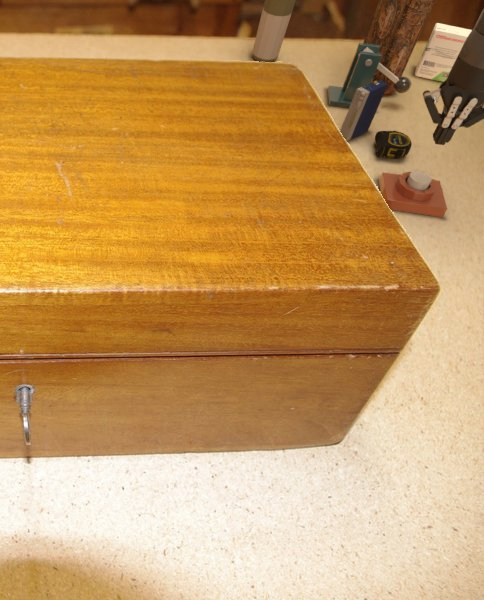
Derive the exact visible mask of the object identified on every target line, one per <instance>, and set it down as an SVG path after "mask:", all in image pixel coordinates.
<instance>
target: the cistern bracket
mask: <svg viewBox="0 0 484 600" xmlns="http://www.w3.org/2000/svg"><path fill="white" fill-rule="evenodd" d="M366 47H368V48H369V49H370V50H372V51H373V52H374V53H371V52H363V50H364V49H365V48H366ZM379 49H380V45H374V44H366V43H363V42H359V43H358V45H357V48H356V50H355V53H354V56H353V58H352V61H351V63H350V65H349V69H348V71H347V73H346V76H345V79H344V81H343V85H342V86H338V85H337V86H336V85H328V87H327V99H328V106H331V107H338V108H346V109H349V107H350V105H351V102H352V99H353V97H354V94H355V92H356V89H358V88H360V87H363V86H365V85H368V84H370V83H371V81H372V79H373V76H374V74H375V72H376V69H377V67H378V64H379V62H380V59H381V57H382V54H379V53H378V51H379ZM359 54H360V55H359ZM358 55H359V56H358Z"/></svg>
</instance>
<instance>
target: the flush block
mask: <svg viewBox="0 0 484 600" xmlns="http://www.w3.org/2000/svg"><path fill="white" fill-rule="evenodd" d="M411 172H412V171H406V172H402V173H401V174H396V173H390V172H383V171H382V173H381V175H380V177H379V179H378V184H379V191H380V195H381V194H382V196H383V198H384V199H385V201H386V203H387V204H388V206H389V208H390V209H389V210H393V211H399V212H406V213H412V214H419V215H425V216H431V217H438V218H443V217H444V215H445V213H446V212H447V210H448V207H447V203H446V198H445V195H444V191H443V187H442V184H441V180H438V179H432V181H431V183H430V185H429V186H428V188H427V189H426V190H418V189H415V188H412V187H410V186H409V185H408V184H407V182H406V181H407V179H408V177H409V175H410V173H411Z"/></svg>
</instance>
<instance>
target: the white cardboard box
mask: <svg viewBox="0 0 484 600" xmlns="http://www.w3.org/2000/svg"><path fill="white" fill-rule="evenodd" d="M472 30H473V29H469V28H465V27H460V26H455V25H450V24H446V23H439V22H436V23H435V24H434V26H433V29H432V31H431V34H430V36H429V38H428V40H427V42H426V44H425V46H424V49H423V52H422V53H421V56H420V58H419V60H418V62H417V65H416V66H415V70H414V76H415V77H418V78H422V79H423V78H424V79H428V80H432V81H438V82H441V83H443V82H444V81H445V80H446V79H447V77H448V75H449V73H450V71H451V69H452V67H453V65H454V63H455V61H456V59H457V57H458V55H459V53H460V51H461V49H462V47H463V45H464V43H465V41H466V39H467V37H468V35H469V34H470V32H471V31H472Z"/></svg>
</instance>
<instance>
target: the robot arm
mask: <svg viewBox="0 0 484 600" xmlns="http://www.w3.org/2000/svg"><path fill="white" fill-rule="evenodd" d="M476 20H477V21H476V23H475V25H474V27H473V28H472V29H471V30H472V31H471V32H470V34H469V35H468V37H467V39H466V41H465V43H464V45H463V47H462V49H461V51H460V53H459V55H458V57H457V59H456V61H455V63H454V65H453V67H452V69H451V71H450V73H449V75H448V77H447V79H446V80H445V81H444V82H441V84H440V85H439V87H438V88H437V89H434V90H429V89H428V90H427V89H425V91H423V92H422V97H423V100H424V104H425V107H426V109H427V111H428V114H429V116H430V119H431V121H432V123H433V124H435V125H436V124H437V126H436V128H435V129H434V130H433V133H432V138H433V142H434V144H435V145H440V146H445V145H446V144H448V143H450V142H451V140H452V138H453V136H454V134H455V133H456V131H457V130H458V129H459V128H463V127H464V128H465V129H467V128H471V127H472V126H474V125H476V124H478V123H479V122H481V121H483V120H484V8H483V9H482V10H481V13H480V14H479V16H478V19H476ZM439 98H441V101H442V103H443V108H442V112H441V113H440V112H439V110H438V107H437V105H436V104H437V103H438V102H439Z"/></svg>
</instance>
